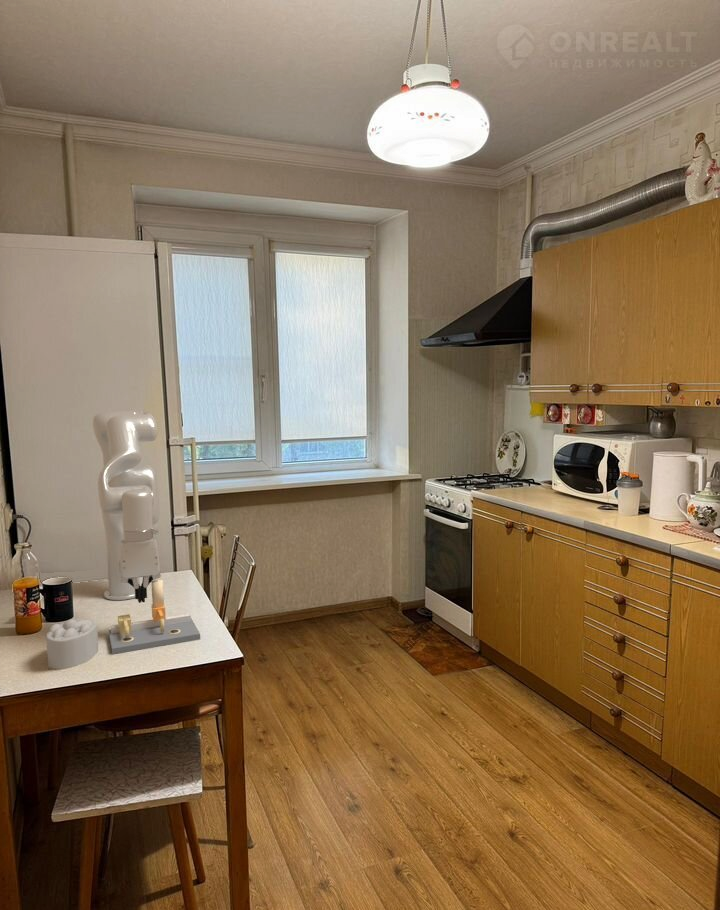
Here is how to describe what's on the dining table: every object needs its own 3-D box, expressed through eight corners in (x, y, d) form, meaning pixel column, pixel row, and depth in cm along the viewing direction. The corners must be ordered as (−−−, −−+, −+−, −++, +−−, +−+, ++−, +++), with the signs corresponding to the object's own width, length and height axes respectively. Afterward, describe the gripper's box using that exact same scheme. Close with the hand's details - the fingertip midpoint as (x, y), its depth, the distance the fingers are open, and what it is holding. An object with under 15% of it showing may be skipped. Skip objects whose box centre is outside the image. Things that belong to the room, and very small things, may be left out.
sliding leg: (152, 621, 176) (150, 579, 175) (163, 619, 177) (161, 578, 176) (157, 633, 167) (155, 589, 166) (168, 631, 169) (166, 588, 167)
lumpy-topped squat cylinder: (103, 647, 164) (101, 615, 163) (79, 669, 151) (77, 635, 150) (64, 647, 164) (62, 615, 163) (37, 669, 151) (35, 634, 150)
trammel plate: (108, 635, 172) (107, 617, 171) (190, 621, 181) (190, 604, 180) (112, 654, 159) (111, 634, 159) (200, 639, 168) (199, 620, 168)
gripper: (165, 530, 177) (167, 593, 179) (107, 535, 171) (111, 601, 172) (168, 535, 170) (171, 601, 172) (109, 541, 164) (112, 609, 166)
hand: (141, 600), depth 172 cm, fingers closed
